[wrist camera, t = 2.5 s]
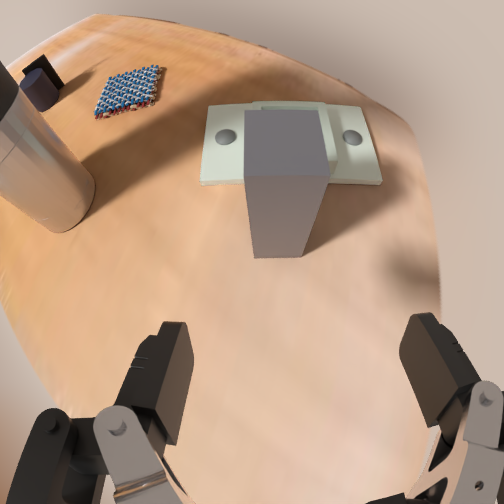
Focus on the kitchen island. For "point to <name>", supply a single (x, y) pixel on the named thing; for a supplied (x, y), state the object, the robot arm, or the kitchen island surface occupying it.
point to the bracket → (331, 116)
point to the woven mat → (128, 92)
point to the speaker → (41, 84)
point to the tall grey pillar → (283, 178)
